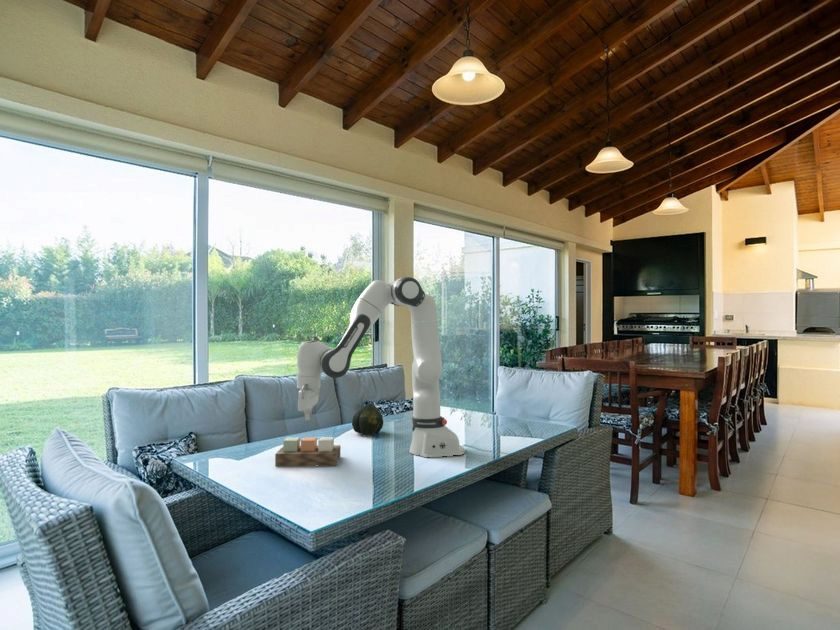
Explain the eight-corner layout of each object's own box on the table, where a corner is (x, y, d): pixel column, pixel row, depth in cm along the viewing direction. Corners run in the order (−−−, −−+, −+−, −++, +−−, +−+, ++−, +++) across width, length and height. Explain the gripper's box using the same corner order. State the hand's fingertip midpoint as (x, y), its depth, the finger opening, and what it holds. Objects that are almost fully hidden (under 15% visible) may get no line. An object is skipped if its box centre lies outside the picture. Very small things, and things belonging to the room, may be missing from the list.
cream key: (333, 450, 188) (333, 437, 188) (331, 453, 183) (331, 440, 183) (320, 450, 188) (320, 437, 188) (318, 453, 183) (318, 440, 183)
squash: (348, 426, 221) (369, 400, 224) (345, 421, 236) (365, 397, 239) (371, 446, 223) (392, 420, 226) (367, 440, 238) (387, 415, 241)
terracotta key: (316, 450, 188) (316, 437, 188) (314, 453, 183) (314, 440, 183) (303, 450, 188) (303, 437, 188) (300, 453, 183) (300, 440, 183)
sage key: (299, 450, 188) (299, 437, 188) (296, 453, 183) (296, 440, 183) (286, 450, 188) (286, 437, 188) (283, 454, 183) (283, 440, 183)
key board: (340, 456, 192) (340, 445, 192) (335, 465, 180) (335, 453, 180) (283, 457, 192) (284, 445, 192) (275, 466, 180) (275, 453, 180)
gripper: (311, 386, 176) (310, 425, 176) (322, 379, 196) (321, 414, 196) (293, 386, 176) (293, 425, 175) (306, 379, 196) (305, 414, 196)
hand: (308, 419), depth 186 cm, fingers closed
